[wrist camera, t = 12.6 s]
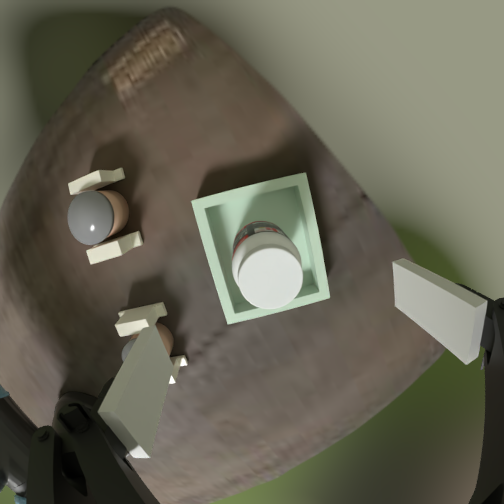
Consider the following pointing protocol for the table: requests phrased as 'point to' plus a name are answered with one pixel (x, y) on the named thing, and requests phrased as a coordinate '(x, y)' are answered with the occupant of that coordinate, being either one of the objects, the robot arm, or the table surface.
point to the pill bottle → (266, 265)
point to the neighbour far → (164, 334)
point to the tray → (271, 210)
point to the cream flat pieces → (131, 318)
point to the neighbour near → (97, 215)
